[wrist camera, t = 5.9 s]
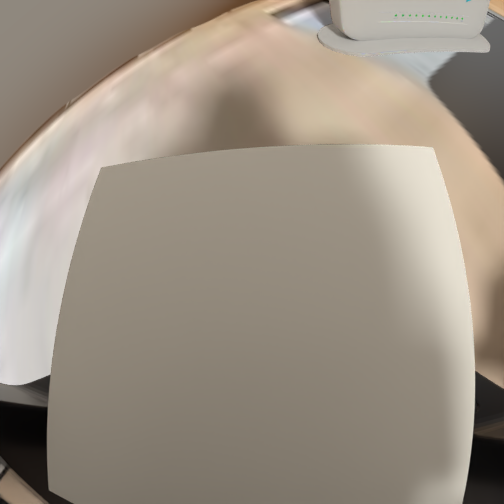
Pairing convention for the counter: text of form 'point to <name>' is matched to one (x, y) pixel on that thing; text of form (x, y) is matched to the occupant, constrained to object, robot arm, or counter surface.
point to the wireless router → (405, 26)
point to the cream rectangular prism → (265, 333)
